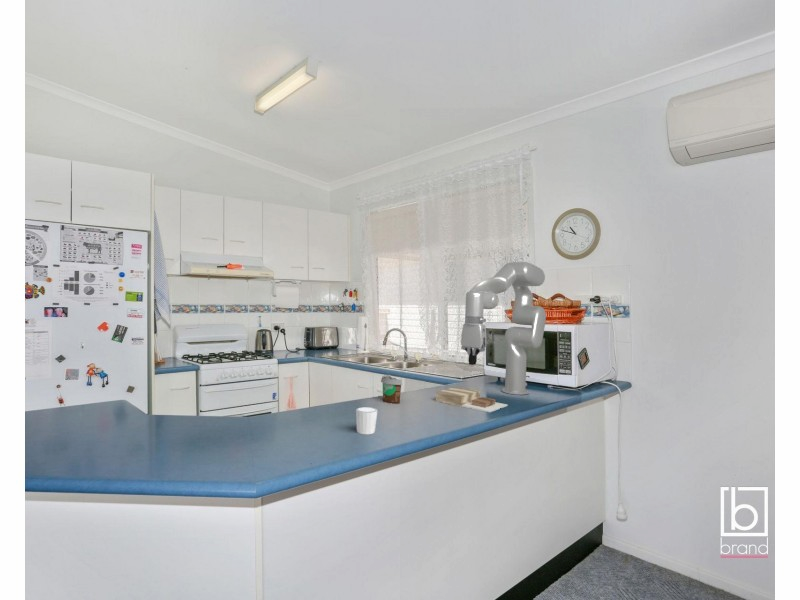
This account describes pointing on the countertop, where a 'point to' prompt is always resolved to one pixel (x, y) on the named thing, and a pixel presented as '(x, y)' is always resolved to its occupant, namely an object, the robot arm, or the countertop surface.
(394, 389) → the food container
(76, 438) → the countertop surface
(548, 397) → the countertop surface
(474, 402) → the walnut tile
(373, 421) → the white fluted cup
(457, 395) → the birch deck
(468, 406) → the white folded cloth
